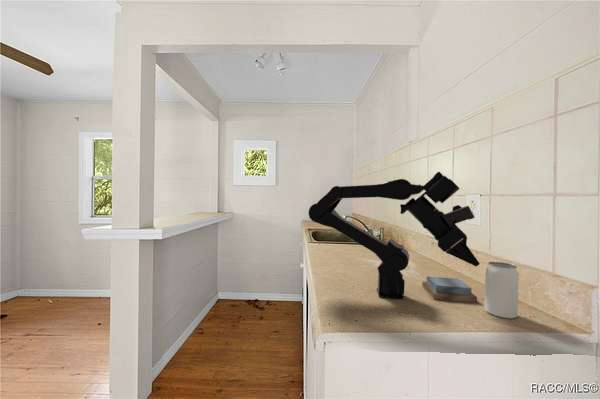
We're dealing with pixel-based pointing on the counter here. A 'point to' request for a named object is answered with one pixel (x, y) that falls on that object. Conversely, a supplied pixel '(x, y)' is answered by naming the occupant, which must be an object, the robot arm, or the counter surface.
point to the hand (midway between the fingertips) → (475, 261)
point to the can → (502, 290)
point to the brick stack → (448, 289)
